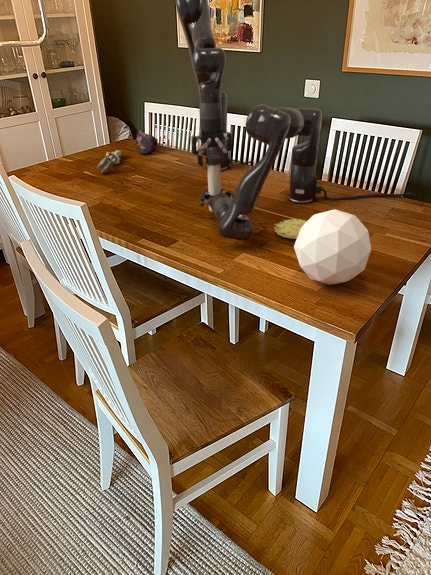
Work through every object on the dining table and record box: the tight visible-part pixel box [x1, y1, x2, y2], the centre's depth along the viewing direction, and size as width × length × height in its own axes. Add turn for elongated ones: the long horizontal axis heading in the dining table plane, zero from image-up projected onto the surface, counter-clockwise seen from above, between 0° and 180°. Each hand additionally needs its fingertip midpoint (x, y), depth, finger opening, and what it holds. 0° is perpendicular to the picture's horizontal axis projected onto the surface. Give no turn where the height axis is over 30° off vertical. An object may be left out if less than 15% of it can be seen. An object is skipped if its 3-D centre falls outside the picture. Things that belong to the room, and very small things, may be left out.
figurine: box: [96, 150, 123, 174], centre depth 213 cm, size 7×8×30 cm
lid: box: [205, 155, 221, 165], centre depth 155 cm, size 5×5×2 cm
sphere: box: [293, 208, 372, 286], centre depth 116 cm, size 19×20×20 cm
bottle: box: [206, 164, 222, 213], centre depth 160 cm, size 5×5×19 cm
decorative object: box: [273, 218, 308, 240], centre depth 145 cm, size 21×2×20 cm
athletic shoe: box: [135, 130, 162, 155], centre depth 233 cm, size 11×22×12 cm
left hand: (212, 164), depth 156 cm, fingers open, 7 cm apart
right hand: (213, 191), depth 164 cm, fingers closed on bottle, 4 cm apart
